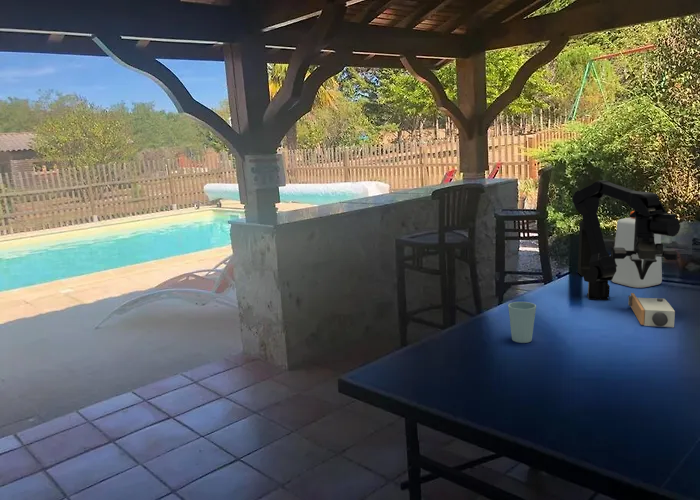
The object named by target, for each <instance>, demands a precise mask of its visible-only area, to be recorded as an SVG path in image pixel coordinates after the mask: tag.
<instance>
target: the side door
mask: <svg viewBox="0 0 700 500" xmlns="http://www.w3.org/2000/svg"><path fill="white" fill-rule="evenodd" d="M637 298H638V297H637V296H636V295H635V293H634V292H631V293H630V295H628V301H627V302H628V306H629V307H630V308H631V310H632V311H633V313H634V315H635V317H636V319H637V320H638V322H639V324H640V325H642V326H644V312H645V310H644V308H643V307H642V305H641V304H640V302H639V301H638V299H637Z"/></svg>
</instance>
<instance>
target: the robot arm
mask: <svg viewBox="0 0 700 500" xmlns="http://www.w3.org/2000/svg"><path fill="white" fill-rule="evenodd" d="M604 196H608V197H610V198H613V199H615V200H619V201H621V202H624V203H625V204H627V206H628V207H629V208H631V209H632V210H633V211H634V212H633V213H632V214H631V215H630V214H629V218H630V217H633V218H635V234H634V250H626V249H625V248H617V247H614V246H613V247H611V249H610V254H609V252H607V249H606V245H605V241H604V236H603V233H602V229H601V224H599V222H600V221H599V216H598V210H599V207H600V199H602V198H603V197H604ZM660 200H661V199H660V198H659V195H658V193H656V192H650V191H638V190H637V191H636V190H633V189H630V188H627V187H624V186H621V185H619V184H616V183H613V182H610V181H609V180H607V179H606V180H604V179H603V180H596V181H594V182H593V183H591V184H590V185H588V186H586V187H583V188H582V189H580V190H576V191H575V192H574V194H573V196H572V202H573V205H574V207H575V209H576V211H577V212H578V213H579V214H580V215H581V217H582V220H583V221H584V225H585V229H586V234H587V238H588V242H589V246H590V250H591V258H590V261H589V267H590V269H589V270H588V271H587V272H586V273H585V274H584V275H583V276H582V277H583V281H584V282H587V283H588V284H587V293H586V295H587V298H588V300H600V301H601V300H603V301H604V300H605V301H608V300H609V298H610V289H611V286H610V284H609V281H611V280H612V279H613V276H614V275H615V272H616V267H617V265H616V262H615V259H624V258H625V257H626V256H630V257H629V258H630V260H631V261H633V262H634V263H635V265H636V267H637V270H638V273H639V277H640V279H641V280H643V279H644V277H645V275H646V273H647V271H648V269H649V267H650V265H651V264H652V263H653V262H657V260H656V258H657V257H661V258H664V259H665V260H666V261H677V260H678V255H679V254H678V252H677V251H676V250H675V249H674V248H671V247H668V248H667V247H664V244H663V243H662V242H661V243H656V244H655V242H654V234H659V235H661V236H667V237H675V236H677V234H678V233H679V232H680V229H681V223H680V222H679V220H678V218H676V217H677V215H676V214H675V213H668V212H667V211H666V209H665V207H664V205H663V204H662V202H661V201H660ZM636 253H638V254H636ZM641 259H644V260H643V267H642V260H641ZM611 282H612V281H611Z"/></svg>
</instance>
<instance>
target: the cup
mask: <svg viewBox="0 0 700 500" xmlns="http://www.w3.org/2000/svg"><path fill="white" fill-rule="evenodd" d="M507 306H508V313H509V315H508V316H509V323H510V324H509V325H510V335H511V340H512V341H513V342H515V343H520V344H525V343H527V344H528V343H530V342H532V340H533V335H534V334H533V333H534V325H535V317H536V310H537V305H536V303H533V302H529V301H514V302H513V301H512V302H510V303H508V305H507Z"/></svg>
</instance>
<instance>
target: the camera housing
mask: <svg viewBox="0 0 700 500" xmlns="http://www.w3.org/2000/svg"><path fill="white" fill-rule="evenodd" d="M637 299H638V301H639V302H640V304H641V305H642V307H643V308H644V310H645V312H644V325H643V326H645V327H659V328H661V327H662V328H674V327H675V316H676V311H675V310H674V308H673V307H672V305H671V304H670V303H669V302H668V301H667V300H666V298H661V297H660V298H659V297H658V298H657V297H655V298H653V297H637Z"/></svg>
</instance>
